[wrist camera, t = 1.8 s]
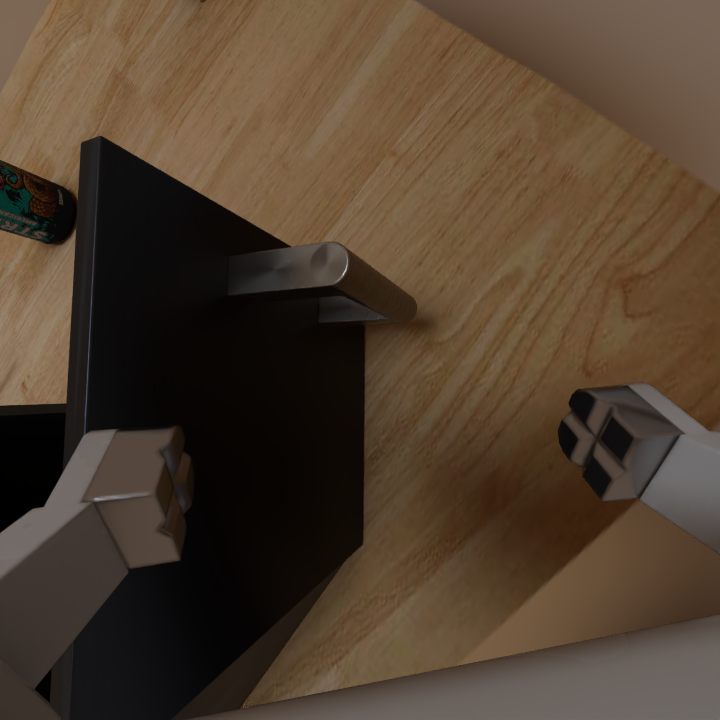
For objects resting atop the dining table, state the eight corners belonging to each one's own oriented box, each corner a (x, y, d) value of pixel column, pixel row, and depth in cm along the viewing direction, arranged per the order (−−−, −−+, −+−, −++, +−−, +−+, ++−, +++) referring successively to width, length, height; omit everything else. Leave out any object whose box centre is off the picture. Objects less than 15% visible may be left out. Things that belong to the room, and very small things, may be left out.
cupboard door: (438, 282, 30) (254, 80, 10) (439, 558, 29) (231, 931, 9) (353, 290, 33) (79, 141, 13) (351, 542, 32) (42, 803, 12)
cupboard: (197, 398, 39) (-164, 410, 19) (352, 550, 32) (37, 832, 12) (84, 596, 43) (-306, 776, 23) (197, 767, 36) (-225, 1244, 16)
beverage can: (83, 189, 48) (-51, 129, 37) (73, 247, 48) (-64, 205, 37) (48, 188, 51) (-87, 133, 40) (38, 244, 51) (-99, 204, 40)
